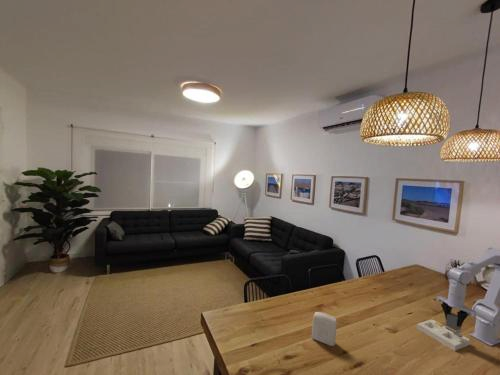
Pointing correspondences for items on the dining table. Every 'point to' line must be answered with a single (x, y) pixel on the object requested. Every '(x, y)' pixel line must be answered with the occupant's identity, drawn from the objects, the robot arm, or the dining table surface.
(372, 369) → the dining table surface
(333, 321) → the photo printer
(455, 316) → the plug
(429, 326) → the sorting tray
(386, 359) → the dining table surface
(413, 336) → the dining table surface
